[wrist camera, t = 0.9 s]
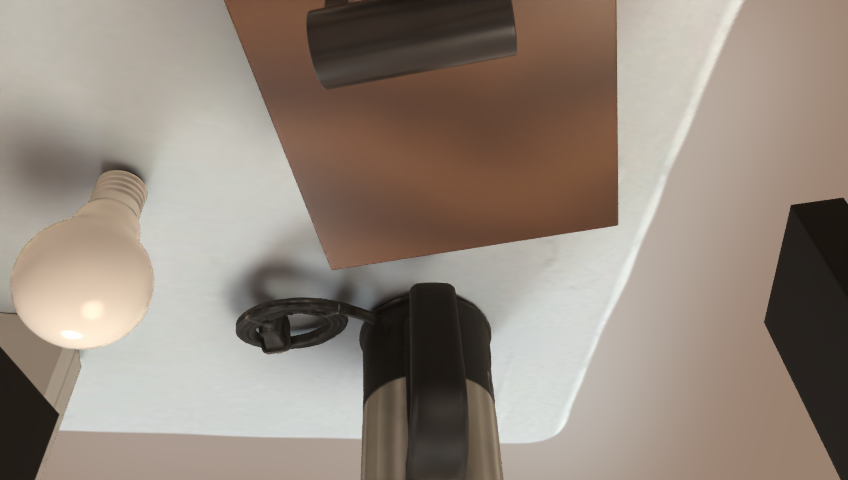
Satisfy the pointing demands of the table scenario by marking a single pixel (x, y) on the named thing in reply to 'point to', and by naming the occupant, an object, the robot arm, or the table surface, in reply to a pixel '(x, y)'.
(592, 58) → the lid
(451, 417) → the milk frother
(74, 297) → the lightbulb
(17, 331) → the gas can
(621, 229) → the table surface
